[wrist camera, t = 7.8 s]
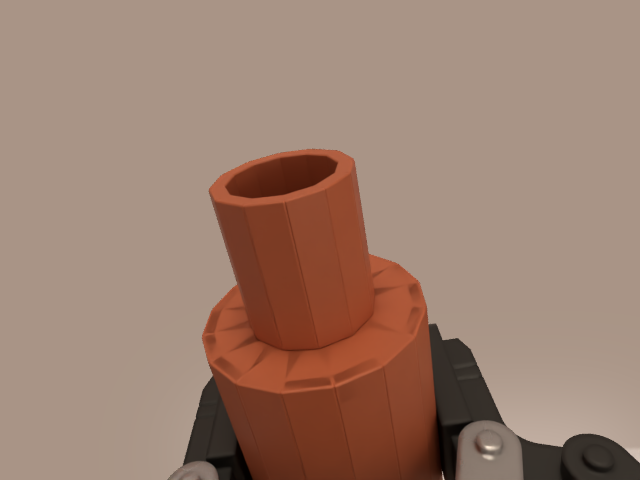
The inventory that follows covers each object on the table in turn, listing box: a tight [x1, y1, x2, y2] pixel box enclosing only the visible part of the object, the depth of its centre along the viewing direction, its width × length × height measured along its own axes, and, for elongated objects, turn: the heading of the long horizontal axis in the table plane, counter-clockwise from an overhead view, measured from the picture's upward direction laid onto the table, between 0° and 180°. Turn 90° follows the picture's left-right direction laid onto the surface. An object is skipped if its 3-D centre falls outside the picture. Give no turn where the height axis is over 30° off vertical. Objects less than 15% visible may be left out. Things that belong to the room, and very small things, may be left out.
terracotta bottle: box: [202, 149, 443, 480], centre depth 12 cm, size 5×5×15 cm
